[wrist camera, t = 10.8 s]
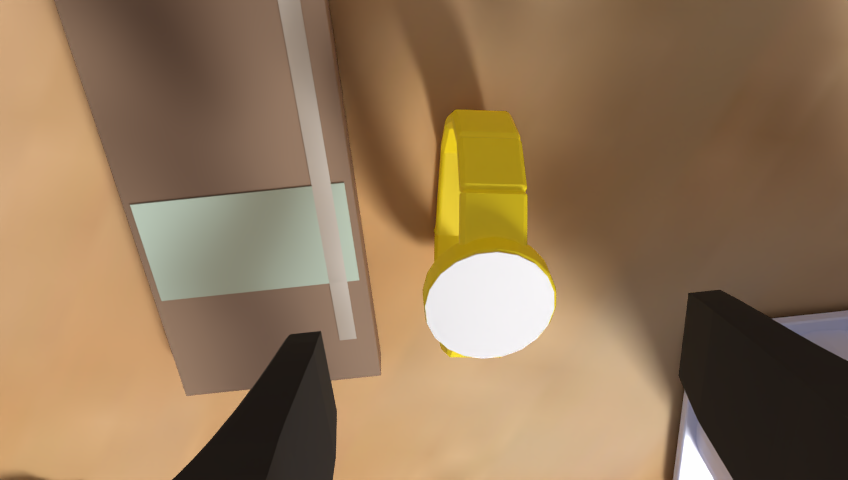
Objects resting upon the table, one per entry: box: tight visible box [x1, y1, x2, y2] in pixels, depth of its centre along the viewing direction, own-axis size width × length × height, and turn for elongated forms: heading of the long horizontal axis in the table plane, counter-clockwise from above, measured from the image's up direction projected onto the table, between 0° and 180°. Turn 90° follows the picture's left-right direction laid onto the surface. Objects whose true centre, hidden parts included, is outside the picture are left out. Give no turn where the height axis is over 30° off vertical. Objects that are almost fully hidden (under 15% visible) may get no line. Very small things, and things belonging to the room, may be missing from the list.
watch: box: [423, 109, 556, 359], centre depth 16 cm, size 6×3×6 cm, turn 177°
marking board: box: [54, 0, 381, 396], centre depth 16 cm, size 6×20×1 cm, turn 5°
